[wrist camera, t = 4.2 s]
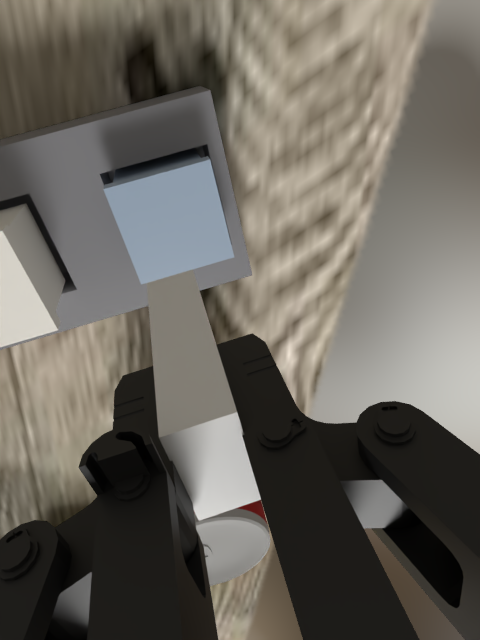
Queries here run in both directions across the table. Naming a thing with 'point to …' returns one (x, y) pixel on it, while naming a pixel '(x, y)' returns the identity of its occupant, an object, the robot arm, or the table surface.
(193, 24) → the table surface
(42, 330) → the white key
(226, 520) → the canned food
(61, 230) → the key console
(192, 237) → the slate blue key
